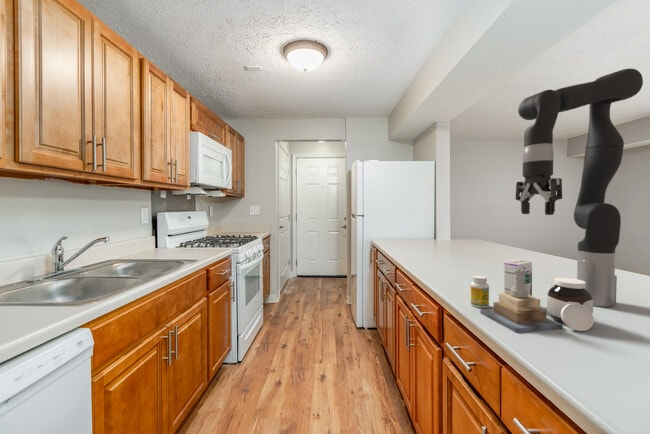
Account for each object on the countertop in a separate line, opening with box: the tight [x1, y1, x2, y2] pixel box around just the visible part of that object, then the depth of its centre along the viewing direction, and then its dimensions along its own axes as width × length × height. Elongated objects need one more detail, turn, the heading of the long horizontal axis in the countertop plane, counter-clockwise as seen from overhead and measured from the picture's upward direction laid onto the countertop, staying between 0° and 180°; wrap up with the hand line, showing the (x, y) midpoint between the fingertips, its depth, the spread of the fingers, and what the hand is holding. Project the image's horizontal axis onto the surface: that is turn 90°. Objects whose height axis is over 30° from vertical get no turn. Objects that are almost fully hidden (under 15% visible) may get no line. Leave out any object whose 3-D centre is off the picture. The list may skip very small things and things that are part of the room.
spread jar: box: [546, 277, 595, 332], centre depth 83 cm, size 12×11×12 cm
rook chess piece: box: [510, 268, 528, 298], centre depth 85 cm, size 4×4×8 cm
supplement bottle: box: [470, 275, 490, 309], centre depth 98 cm, size 5×5×10 cm
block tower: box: [480, 292, 564, 333], centre depth 86 cm, size 14×14×7 cm
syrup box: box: [503, 259, 533, 296], centre depth 99 cm, size 6×6×14 cm
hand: (536, 214), depth 91 cm, fingers open, 8 cm apart
